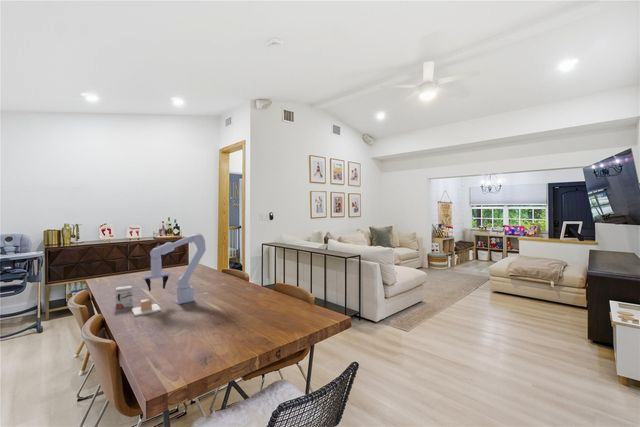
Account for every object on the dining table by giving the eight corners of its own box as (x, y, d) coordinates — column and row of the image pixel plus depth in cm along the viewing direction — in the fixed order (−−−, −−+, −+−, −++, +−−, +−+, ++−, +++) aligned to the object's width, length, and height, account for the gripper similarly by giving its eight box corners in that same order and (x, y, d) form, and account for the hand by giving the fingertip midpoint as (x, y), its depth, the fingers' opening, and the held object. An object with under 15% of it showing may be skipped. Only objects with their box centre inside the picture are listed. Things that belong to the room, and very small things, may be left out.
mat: (156, 305, 180) (156, 303, 180) (161, 311, 170) (161, 309, 170) (131, 310, 172) (131, 308, 172) (134, 316, 162) (134, 314, 162)
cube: (150, 306, 174) (150, 298, 174) (151, 309, 171) (151, 300, 170) (140, 308, 171) (140, 300, 171) (141, 311, 167) (141, 302, 167)
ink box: (115, 309, 174) (115, 289, 174) (116, 306, 178) (115, 287, 178) (132, 306, 179) (132, 286, 179) (132, 303, 183) (132, 285, 183)
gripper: (143, 270, 173) (144, 293, 173) (170, 266, 182) (171, 288, 182) (141, 268, 178) (142, 290, 179) (168, 265, 187) (168, 286, 188)
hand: (156, 289), depth 181 cm, fingers open, 7 cm apart
